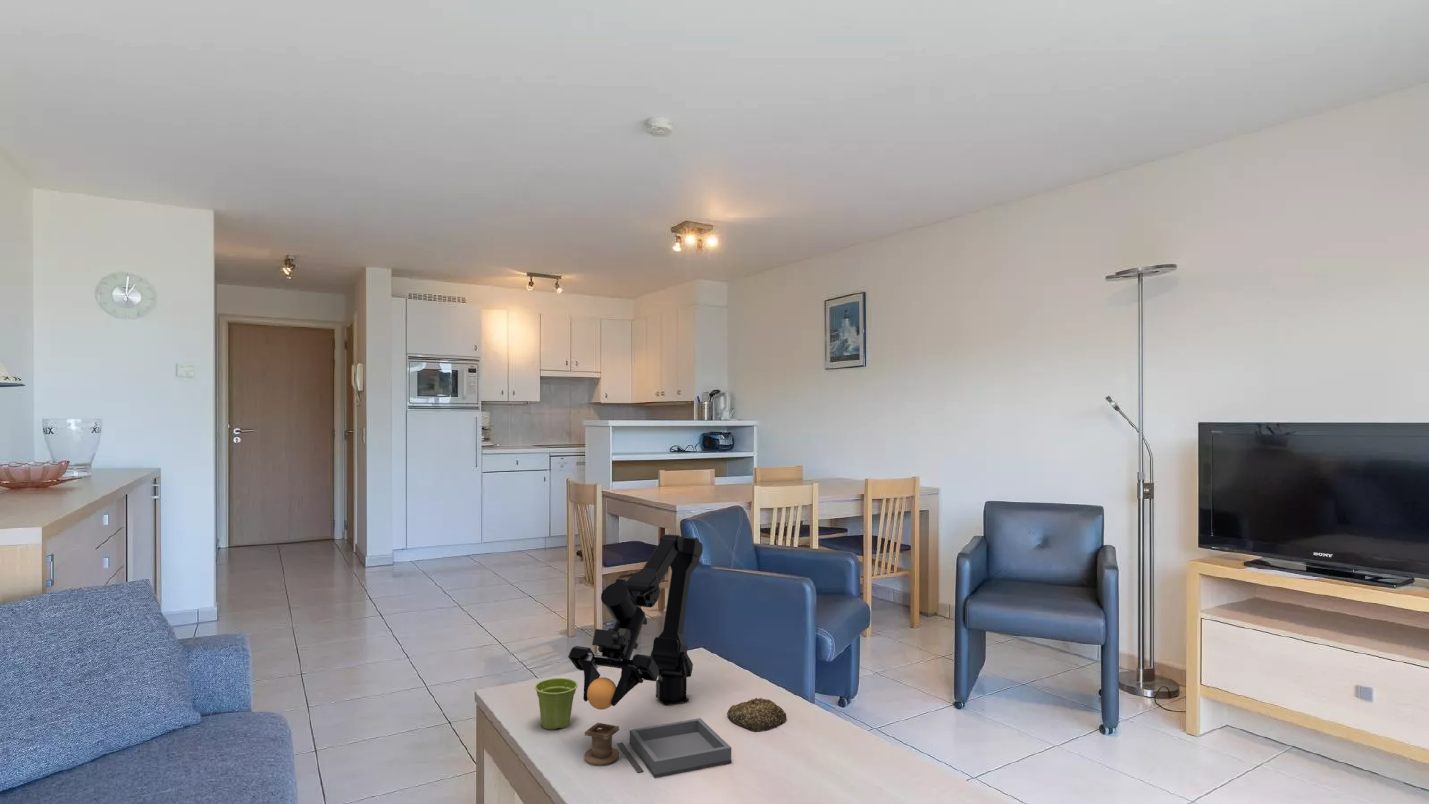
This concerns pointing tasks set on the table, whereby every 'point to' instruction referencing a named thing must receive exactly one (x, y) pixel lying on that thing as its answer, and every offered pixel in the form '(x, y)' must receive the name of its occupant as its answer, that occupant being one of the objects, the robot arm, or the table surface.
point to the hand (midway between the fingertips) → (598, 702)
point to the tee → (601, 745)
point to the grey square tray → (679, 747)
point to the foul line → (630, 757)
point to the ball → (601, 693)
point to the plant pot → (555, 701)
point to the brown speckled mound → (757, 714)
